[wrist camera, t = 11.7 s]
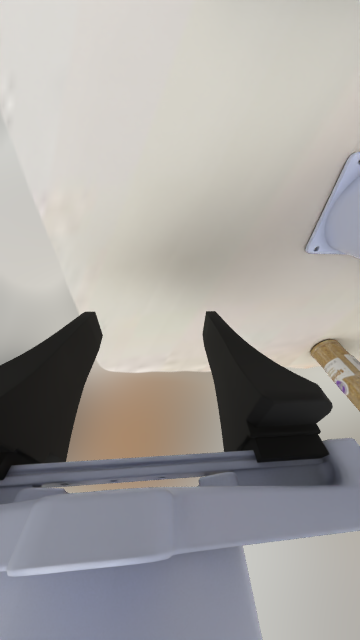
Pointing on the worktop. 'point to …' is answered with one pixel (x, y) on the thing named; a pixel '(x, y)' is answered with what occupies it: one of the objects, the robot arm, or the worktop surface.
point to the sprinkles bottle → (340, 368)
